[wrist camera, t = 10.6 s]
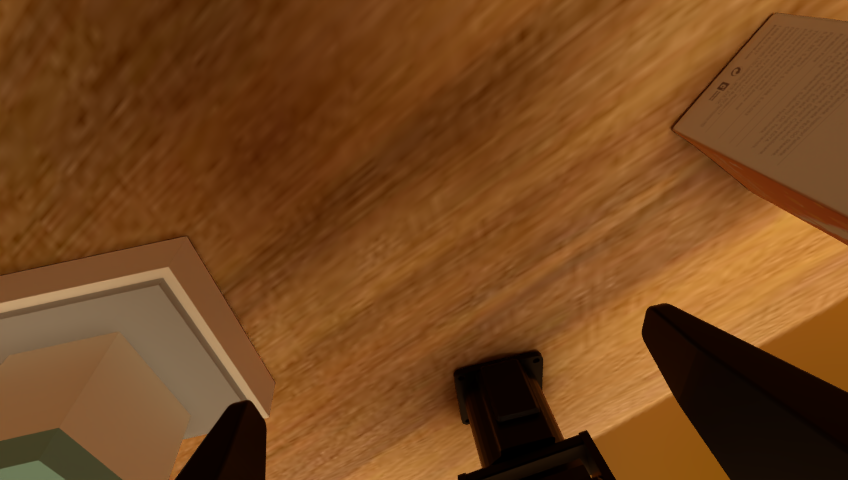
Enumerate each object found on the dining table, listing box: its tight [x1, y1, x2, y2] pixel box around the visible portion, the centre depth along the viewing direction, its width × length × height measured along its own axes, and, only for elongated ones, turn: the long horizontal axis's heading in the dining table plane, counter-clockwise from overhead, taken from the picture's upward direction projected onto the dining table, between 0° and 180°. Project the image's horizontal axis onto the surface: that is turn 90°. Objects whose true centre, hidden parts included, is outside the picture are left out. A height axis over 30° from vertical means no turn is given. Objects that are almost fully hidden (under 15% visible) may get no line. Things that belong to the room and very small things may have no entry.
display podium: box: [0, 236, 275, 439], centre depth 22 cm, size 12×12×3 cm
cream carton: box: [0, 332, 191, 480], centre depth 18 cm, size 5×7×6 cm
